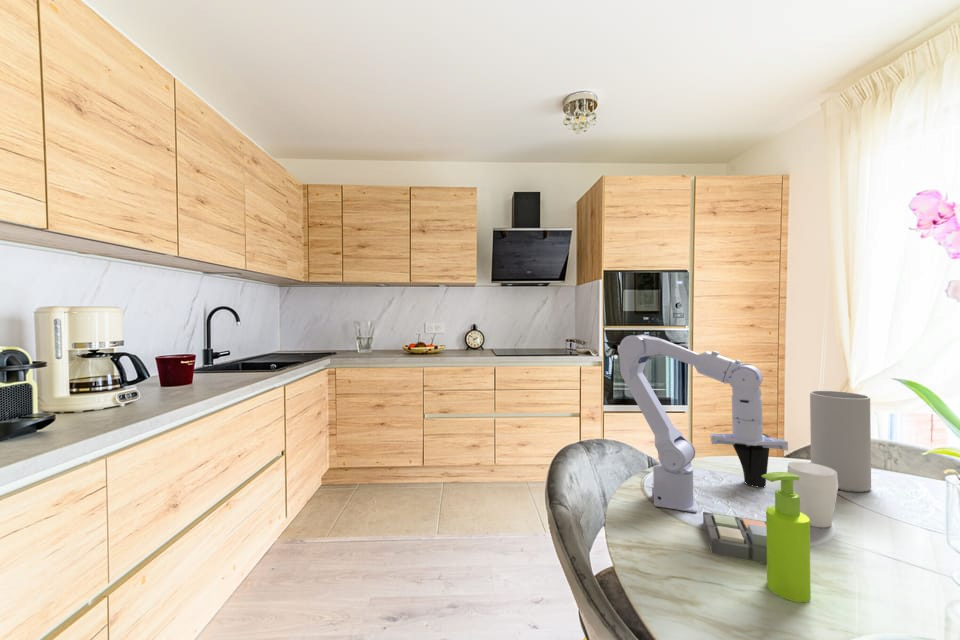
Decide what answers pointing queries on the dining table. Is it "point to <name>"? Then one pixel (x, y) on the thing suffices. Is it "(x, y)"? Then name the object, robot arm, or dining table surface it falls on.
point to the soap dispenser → (787, 542)
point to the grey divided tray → (730, 547)
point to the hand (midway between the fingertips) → (748, 478)
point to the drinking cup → (760, 469)
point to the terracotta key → (752, 522)
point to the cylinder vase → (842, 437)
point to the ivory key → (729, 534)
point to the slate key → (757, 535)
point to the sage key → (724, 521)
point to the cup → (815, 491)
